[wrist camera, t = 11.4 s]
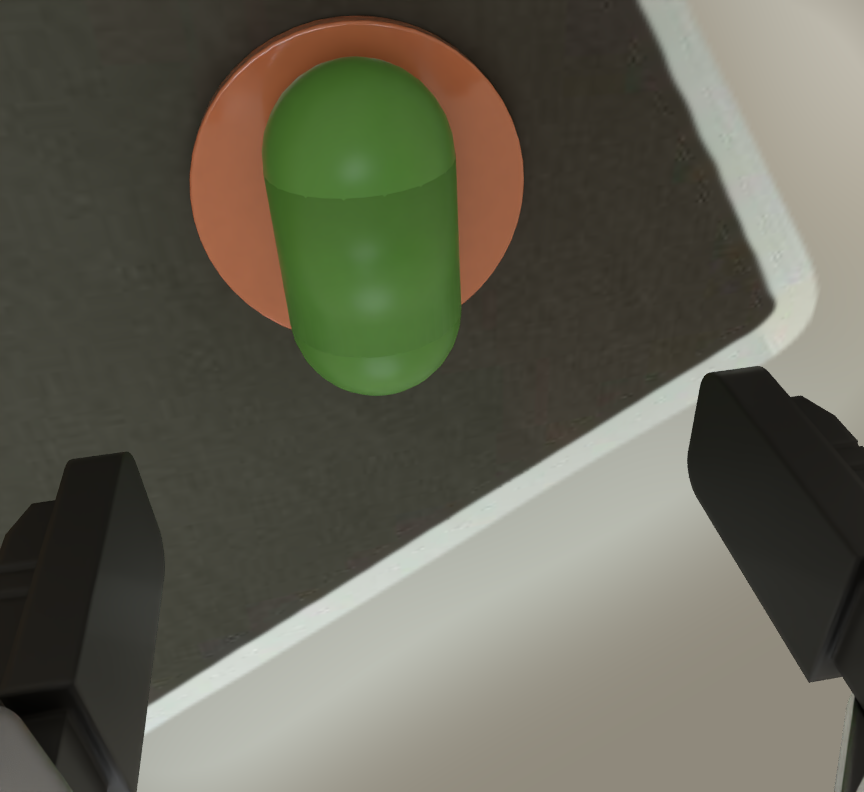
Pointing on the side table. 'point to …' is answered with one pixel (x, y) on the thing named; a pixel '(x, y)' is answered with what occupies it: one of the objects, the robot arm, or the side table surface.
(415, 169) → the cucumber
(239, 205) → the plate
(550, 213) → the side table surface
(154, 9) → the side table surface
